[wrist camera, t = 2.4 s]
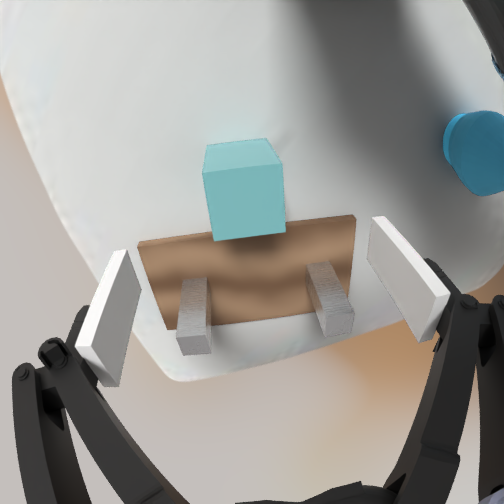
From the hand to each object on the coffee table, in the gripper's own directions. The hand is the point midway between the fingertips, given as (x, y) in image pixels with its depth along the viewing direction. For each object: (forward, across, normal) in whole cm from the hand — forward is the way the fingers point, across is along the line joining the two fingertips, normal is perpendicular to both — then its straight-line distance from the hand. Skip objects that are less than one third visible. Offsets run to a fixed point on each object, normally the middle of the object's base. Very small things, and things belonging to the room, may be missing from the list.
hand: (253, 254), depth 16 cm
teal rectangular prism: (+14, 0, 0) cm, 14 cm away
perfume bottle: (+14, +25, +2) cm, 29 cm away
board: (+14, 0, -12) cm, 18 cm away
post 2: (+12, +7, -12) cm, 19 cm away
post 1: (+13, -6, -12) cm, 18 cm away
